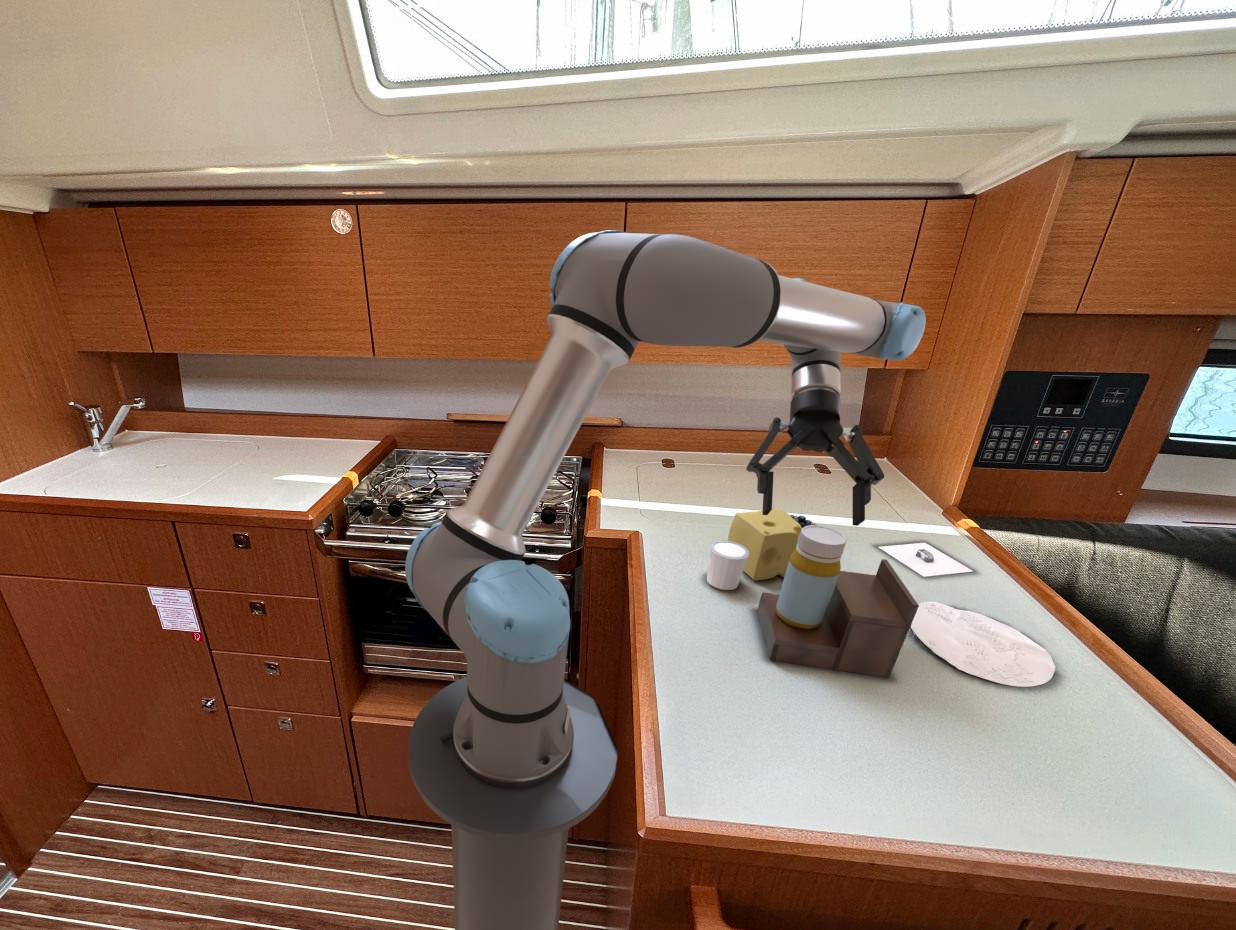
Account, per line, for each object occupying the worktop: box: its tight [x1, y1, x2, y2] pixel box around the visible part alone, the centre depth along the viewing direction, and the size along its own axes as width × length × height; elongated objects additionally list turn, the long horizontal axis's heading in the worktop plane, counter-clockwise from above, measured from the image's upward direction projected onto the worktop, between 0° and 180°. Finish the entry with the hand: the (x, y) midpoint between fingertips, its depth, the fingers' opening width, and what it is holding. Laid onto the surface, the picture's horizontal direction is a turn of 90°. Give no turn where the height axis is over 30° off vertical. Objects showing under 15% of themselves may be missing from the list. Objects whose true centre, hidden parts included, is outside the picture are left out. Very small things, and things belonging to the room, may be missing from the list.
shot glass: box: [706, 540, 749, 591], centre depth 107 cm, size 7×7×7 cm
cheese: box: [727, 507, 802, 582], centre depth 112 cm, size 10×11×10 cm
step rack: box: [756, 558, 919, 679], centre depth 91 cm, size 17×13×13 cm
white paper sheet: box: [878, 542, 973, 578], centre depth 119 cm, size 12×12×2 cm
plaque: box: [910, 601, 1056, 688], centre depth 95 cm, size 20×20×2 cm
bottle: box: [776, 524, 847, 630], centre depth 89 cm, size 7×7×15 cm
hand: (812, 517), depth 92 cm, fingers open, 13 cm apart
